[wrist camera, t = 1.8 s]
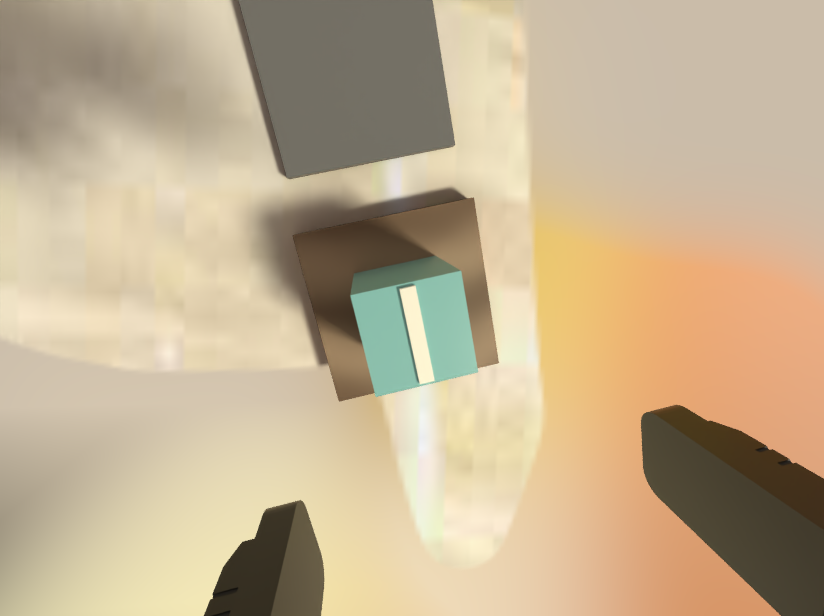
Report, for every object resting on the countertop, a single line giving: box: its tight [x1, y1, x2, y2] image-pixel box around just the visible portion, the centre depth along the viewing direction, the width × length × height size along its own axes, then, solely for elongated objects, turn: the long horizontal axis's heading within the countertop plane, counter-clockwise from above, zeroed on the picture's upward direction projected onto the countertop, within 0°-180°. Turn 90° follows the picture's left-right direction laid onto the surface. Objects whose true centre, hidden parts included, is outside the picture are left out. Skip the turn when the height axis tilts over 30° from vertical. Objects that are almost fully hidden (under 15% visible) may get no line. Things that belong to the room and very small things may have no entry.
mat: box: [239, 0, 455, 179], centre depth 23 cm, size 11×11×1 cm
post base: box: [293, 198, 499, 401], centre depth 24 cm, size 12×12×7 cm
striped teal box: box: [350, 256, 478, 397], centre depth 23 cm, size 6×6×7 cm
